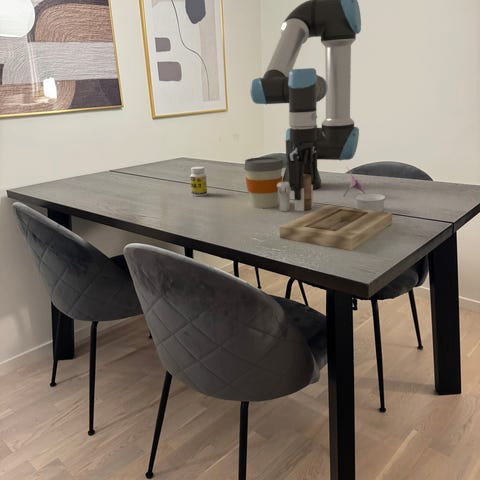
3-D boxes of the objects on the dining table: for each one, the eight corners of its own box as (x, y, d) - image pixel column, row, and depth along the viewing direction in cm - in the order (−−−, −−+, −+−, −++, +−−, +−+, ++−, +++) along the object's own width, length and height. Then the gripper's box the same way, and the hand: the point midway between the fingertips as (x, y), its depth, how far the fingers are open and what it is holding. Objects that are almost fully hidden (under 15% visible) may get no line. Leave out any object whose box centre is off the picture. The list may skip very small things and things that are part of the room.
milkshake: (289, 212, 148) (289, 180, 145) (274, 211, 151) (273, 179, 148) (296, 209, 152) (295, 178, 149) (281, 207, 155) (280, 177, 152)
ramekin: (370, 215, 141) (371, 201, 140) (348, 210, 149) (349, 196, 147) (391, 210, 146) (391, 196, 144) (369, 205, 153) (369, 192, 152)
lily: (359, 205, 158) (374, 179, 156) (328, 189, 162) (342, 163, 161) (365, 207, 169) (378, 183, 167) (336, 192, 173) (349, 168, 172)
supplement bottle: (189, 196, 178) (186, 168, 175) (196, 192, 183) (194, 166, 180) (203, 196, 176) (201, 169, 173) (209, 193, 181) (208, 166, 178)
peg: (293, 210, 141) (292, 176, 137) (300, 206, 144) (300, 173, 141) (306, 211, 138) (306, 177, 135) (314, 208, 141) (314, 174, 138)
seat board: (279, 237, 125) (279, 225, 124) (326, 214, 144) (326, 204, 143) (351, 250, 113) (351, 237, 112) (391, 223, 132) (392, 212, 131)
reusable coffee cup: (255, 199, 168) (253, 156, 163) (289, 201, 162) (288, 157, 158) (239, 208, 157) (237, 162, 153) (275, 210, 152) (274, 163, 147)
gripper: (298, 131, 125) (299, 217, 132) (329, 123, 138) (329, 202, 145) (274, 130, 129) (276, 214, 137) (306, 123, 142) (307, 199, 150)
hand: (303, 207), depth 141 cm, fingers closed on peg, 4 cm apart
